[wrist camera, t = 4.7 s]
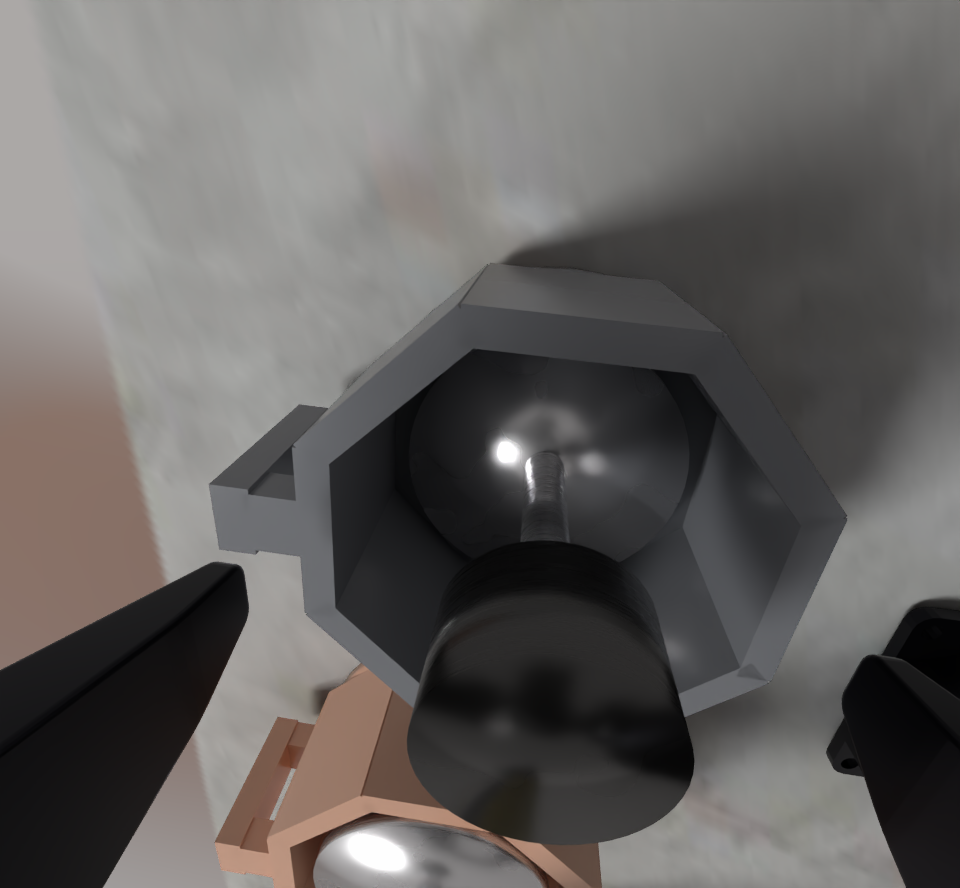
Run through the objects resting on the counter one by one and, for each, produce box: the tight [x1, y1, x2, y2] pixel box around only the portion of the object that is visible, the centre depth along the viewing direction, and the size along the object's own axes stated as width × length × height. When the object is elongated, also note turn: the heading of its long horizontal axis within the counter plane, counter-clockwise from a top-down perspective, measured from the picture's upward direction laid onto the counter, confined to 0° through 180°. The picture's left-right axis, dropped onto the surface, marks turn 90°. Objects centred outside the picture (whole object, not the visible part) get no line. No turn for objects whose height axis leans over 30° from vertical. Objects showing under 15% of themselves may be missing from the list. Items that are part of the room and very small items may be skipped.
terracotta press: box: [215, 663, 602, 888], centre depth 16 cm, size 10×9×5 cm
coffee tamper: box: [407, 348, 694, 845], centre depth 9 cm, size 6×6×8 cm
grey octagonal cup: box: [209, 263, 847, 717], centre depth 11 cm, size 10×9×5 cm
